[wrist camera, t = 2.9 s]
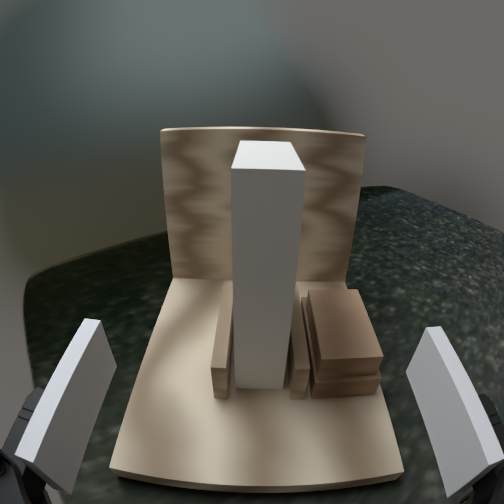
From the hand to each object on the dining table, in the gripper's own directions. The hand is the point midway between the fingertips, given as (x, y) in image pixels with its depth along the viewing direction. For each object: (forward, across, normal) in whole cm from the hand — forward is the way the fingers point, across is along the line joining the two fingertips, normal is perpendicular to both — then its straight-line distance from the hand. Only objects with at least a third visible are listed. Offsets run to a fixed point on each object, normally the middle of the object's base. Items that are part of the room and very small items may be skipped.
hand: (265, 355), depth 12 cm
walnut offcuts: (+10, +6, -10) cm, 16 cm away
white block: (+10, 0, -10) cm, 15 cm away
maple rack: (+10, 0, -12) cm, 16 cm away
